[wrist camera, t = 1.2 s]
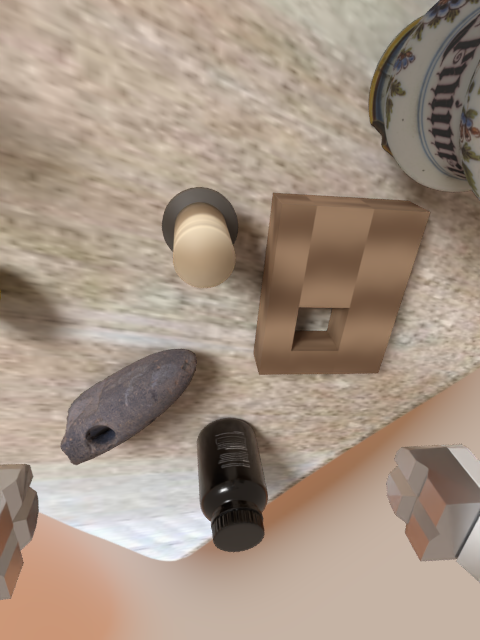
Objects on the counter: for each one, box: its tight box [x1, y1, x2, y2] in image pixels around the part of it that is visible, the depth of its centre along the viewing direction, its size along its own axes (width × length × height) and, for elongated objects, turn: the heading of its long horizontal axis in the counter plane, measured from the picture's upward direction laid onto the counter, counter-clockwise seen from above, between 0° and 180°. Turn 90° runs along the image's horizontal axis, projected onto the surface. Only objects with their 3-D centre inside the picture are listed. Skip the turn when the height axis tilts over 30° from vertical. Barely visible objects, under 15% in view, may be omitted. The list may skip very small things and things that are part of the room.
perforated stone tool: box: [61, 349, 197, 465], centre depth 37 cm, size 15×5×7 cm, turn 120°
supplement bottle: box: [197, 418, 268, 552], centre depth 41 cm, size 7×7×12 cm
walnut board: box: [254, 193, 430, 375], centre depth 36 cm, size 16×12×4 cm
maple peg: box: [162, 187, 238, 288], centre depth 28 cm, size 6×6×10 cm
